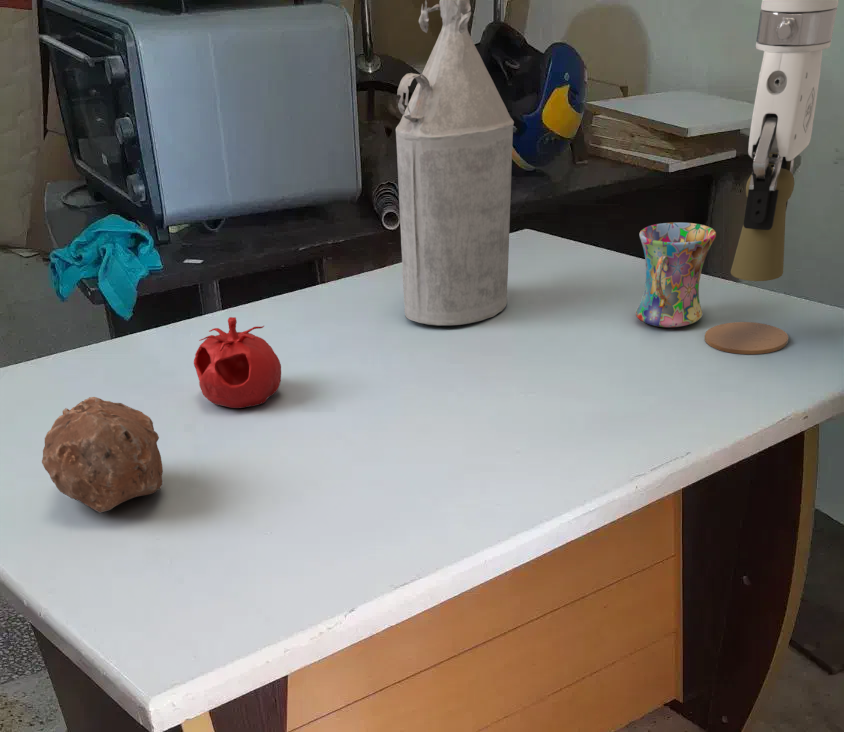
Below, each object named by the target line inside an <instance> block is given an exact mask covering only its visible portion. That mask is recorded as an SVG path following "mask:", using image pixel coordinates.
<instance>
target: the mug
mask: <svg viewBox="0 0 844 732" xmlns="http://www.w3.org/2000/svg"><path fill="white" fill-rule="evenodd" d="M716 237H717V232H716V230H715V229H713V228H712V227H710V226H707V225H705V224H700V223H693V222H663V223H656V224H651V225H648V226H646V227H643V228H642V229H641V230H640V232H639V240H640V242H641V245H642V249H643V254H644V258H645V259H644V260H645V261H644V262H645V283H644V290H643V294H642V297H641V300H640V303H639V305H638V307H637V308H636V310H635V315H636V317H637V319H638V320H640V321H641V322H642V323H645V324H647V325H650V326H653V327H659V328H679V327H680V328H681V327H685V326H688V325H692V324H694V323H697V322H698V321H699V320H701V318H703V317H702V316H703V310H702V309H703V308H702V306H701V302H700V280H701V275H702V269H703V266H704V263H705V260H706V257H707V255H708V253H709V250H710V249H711V246H712V245H713V242H714V241H715V239H716Z"/></svg>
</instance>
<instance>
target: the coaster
mask: <svg viewBox="0 0 844 732" xmlns="http://www.w3.org/2000/svg"><path fill="white" fill-rule="evenodd" d="M704 342H705V343H706V344H707V345H708V346H709V347H711V348H713V349H715V350H718V351H720V352H725V353H729V354H736V355H762V354H763V355H764V354H770V353H775V352H777V351H779V350H782V349H784V348H785V347H786V346H787V344H788V343H789V334H788V333H787V332H785V331H784V329H781V328H779V327H777V326H773V325H771V324H767V323H762V322H751V321H750V322H749V321H735V322H726V323H721V324H717V325H714V326H711V327H710V328H708V329H707V330H706V331H705V333H704Z"/></svg>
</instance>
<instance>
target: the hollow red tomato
mask: <svg viewBox="0 0 844 732" xmlns="http://www.w3.org/2000/svg"><path fill="white" fill-rule="evenodd" d="M227 324H228V325H227V326H228V332H225V331H224V330H222V329H220V328H219V327H214V328H212V329H210V330H208V332H212V331H214V332H215V331H216V332H217V333H218V334H217V335H214V334H211V335H207V336H205V337H204V338H201V339H199V340H198V342H201V341H203V342H202V343H200V344H199V346H198V348H197V350H196V352H195V354H194V358H193V366H194V368H195V371H196V375H197V378H198V385H199V388H200V391H201V393H202V395H203V397H204V398H206V400H207V401H209V402H211V403H212V404H214V405H218V406H222V407H227V408H230V409H243V408H248V407H255V406H259V405H262V404H264V403H266V401H267V400H268V398H270V397H272V396H273V395H274V394H275V393H276V392H277V391H278V390H279V388H280V385H281V382H282V364H281V361H280V359H279V357H278V355H277V354H276V352H275V351H274V349H273V348H272V346H271V345H270V344H269V343H268V342H267V341H266V340H265V339H264V338H262V337H261V336H258V335H255V334H253V333H250V332H252V331H253V330H256V329H263V328H264V327H265V325H263V326H253V327H251V328H249V329H247V330H244V331H237V317H232V316H230V317H229V318H228V319H227Z"/></svg>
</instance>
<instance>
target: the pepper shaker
mask: <svg viewBox="0 0 844 732" xmlns="http://www.w3.org/2000/svg"><path fill="white" fill-rule="evenodd" d="M773 168H774V167H771V170H772V173H773ZM751 175H752V173H751V174H750V176H749V177H748V179H747V181H746V185H745V196H746V197H748V190H749V185H750V180H751ZM794 188H795V177H794V175H793V172H792V173H791V172H790V171H789V170H787V169H783V168H780V173H779V177H778V182H777V186H776V190H779V192H778V198H777V204H776V210H775V216H774V222H773V227H772V228H771V229H770V230H760V229H749V228H745V227H744V226H743V224H744V222H743V224H742V228H741V230H740V231H741V232H740V234H739V239H738V243H737V247H736V249H735V253H734V258H733V261H732V265H731V268H730V274H731V276H732V277H734V278H735V279H738V280H743V281H748V282H767V281H772V280H776V279H779V278H781V277H782V276H783V274H784V266H785V265H784V262H785V242H786V241H785V238H786V218H787V217H786V216H787V209H786V202H787V201H788V202H789V200H790V199H791V196H792V195H793V192H794Z"/></svg>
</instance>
